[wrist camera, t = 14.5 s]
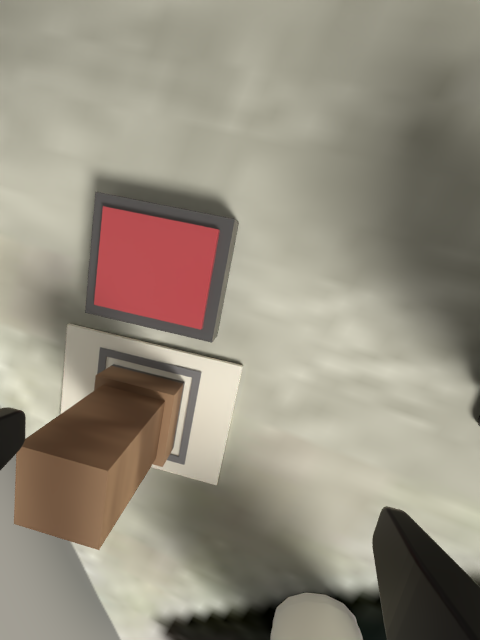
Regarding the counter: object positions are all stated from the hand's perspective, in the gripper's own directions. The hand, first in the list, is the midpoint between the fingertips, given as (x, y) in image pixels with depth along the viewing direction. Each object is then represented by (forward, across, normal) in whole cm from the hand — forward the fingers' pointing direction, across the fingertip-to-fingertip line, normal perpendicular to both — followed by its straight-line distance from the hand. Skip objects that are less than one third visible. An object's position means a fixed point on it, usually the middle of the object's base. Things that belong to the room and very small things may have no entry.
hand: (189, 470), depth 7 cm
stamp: (+11, +6, +6) cm, 14 cm away
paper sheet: (+12, +6, +6) cm, 14 cm away
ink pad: (+12, +6, -4) cm, 14 cm away
